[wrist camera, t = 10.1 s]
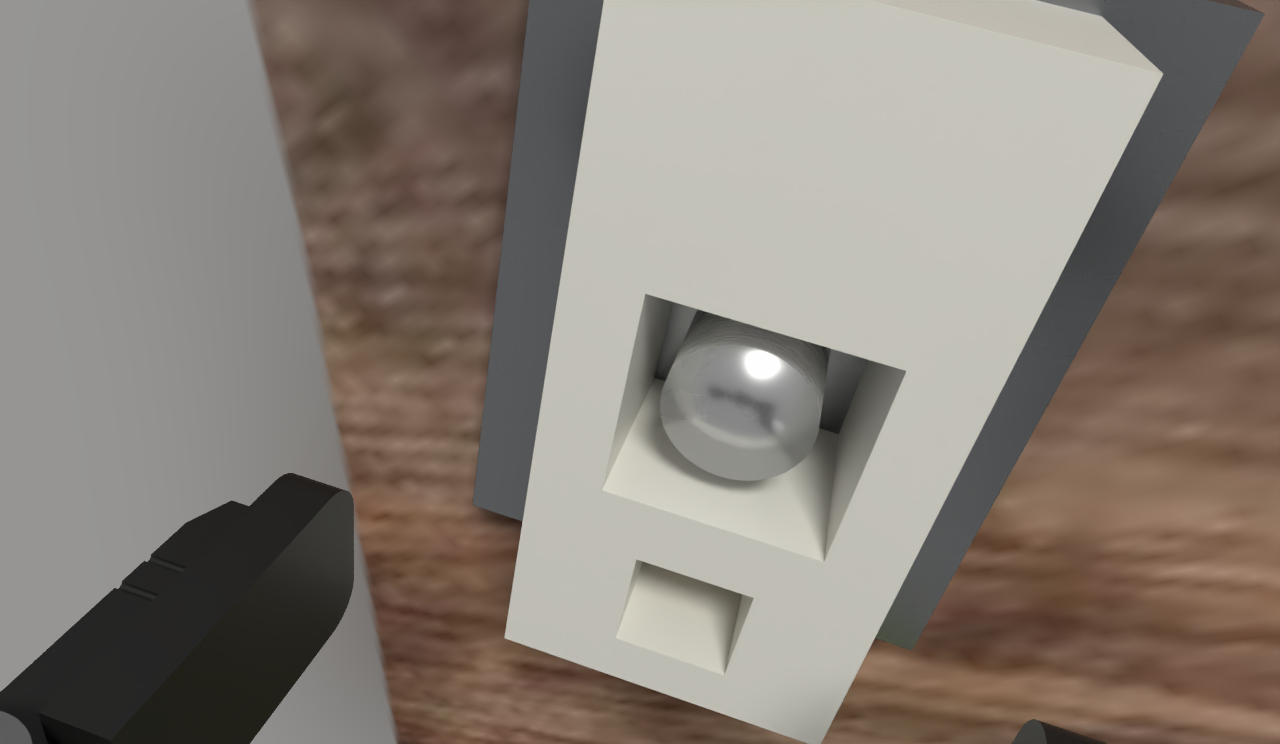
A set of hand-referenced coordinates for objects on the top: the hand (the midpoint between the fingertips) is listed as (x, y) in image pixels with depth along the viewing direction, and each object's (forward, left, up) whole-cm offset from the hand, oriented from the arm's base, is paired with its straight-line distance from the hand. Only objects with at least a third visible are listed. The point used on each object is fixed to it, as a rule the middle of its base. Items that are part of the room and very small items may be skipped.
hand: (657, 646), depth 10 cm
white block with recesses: (+1, 0, -7) cm, 7 cm away
